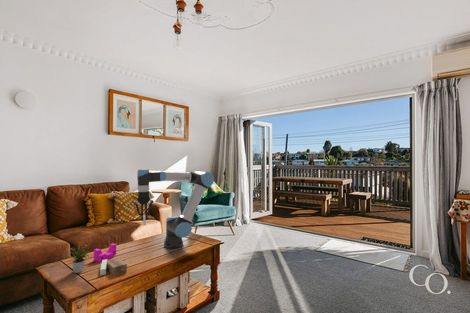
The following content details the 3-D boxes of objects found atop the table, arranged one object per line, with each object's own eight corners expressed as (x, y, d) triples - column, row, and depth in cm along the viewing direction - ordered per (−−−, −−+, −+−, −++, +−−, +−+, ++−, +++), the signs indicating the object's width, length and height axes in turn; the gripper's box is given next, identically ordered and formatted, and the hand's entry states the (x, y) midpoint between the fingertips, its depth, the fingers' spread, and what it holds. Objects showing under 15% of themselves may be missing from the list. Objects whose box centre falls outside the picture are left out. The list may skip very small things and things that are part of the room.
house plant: (62, 279, 145) (63, 250, 145) (61, 270, 156) (62, 244, 157) (91, 272, 154) (91, 245, 154) (88, 265, 165) (88, 239, 165)
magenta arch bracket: (99, 262, 170) (99, 251, 170) (93, 260, 172) (93, 249, 173) (118, 255, 183) (118, 244, 184) (112, 253, 186) (112, 243, 186)
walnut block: (119, 266, 164) (120, 258, 164) (126, 272, 155) (126, 264, 155) (106, 269, 159) (106, 261, 159) (112, 276, 150) (112, 267, 150)
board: (107, 264, 166) (107, 259, 166) (105, 274, 152) (105, 268, 152) (102, 265, 165) (102, 259, 165) (100, 275, 150) (100, 269, 151)
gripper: (152, 189, 183) (153, 222, 183) (133, 191, 177) (134, 224, 177) (153, 191, 176) (154, 224, 176) (133, 192, 171) (134, 227, 171)
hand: (144, 224), depth 177 cm, fingers closed
